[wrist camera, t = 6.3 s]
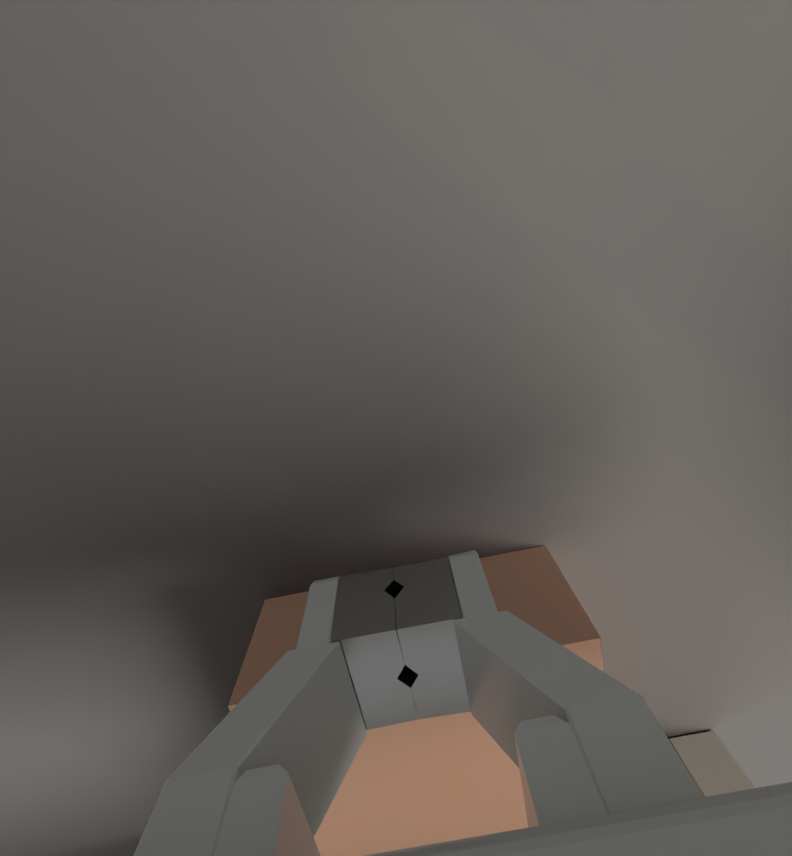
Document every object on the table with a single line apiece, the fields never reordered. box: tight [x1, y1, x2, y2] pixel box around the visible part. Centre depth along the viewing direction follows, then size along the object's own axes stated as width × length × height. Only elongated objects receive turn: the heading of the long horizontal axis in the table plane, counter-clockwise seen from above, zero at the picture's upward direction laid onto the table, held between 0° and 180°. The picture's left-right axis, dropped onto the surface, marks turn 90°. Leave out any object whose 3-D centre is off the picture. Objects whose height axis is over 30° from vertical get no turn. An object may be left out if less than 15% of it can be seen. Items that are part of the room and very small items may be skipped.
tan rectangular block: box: [228, 546, 603, 856], centre depth 11 cm, size 9×6×3 cm
